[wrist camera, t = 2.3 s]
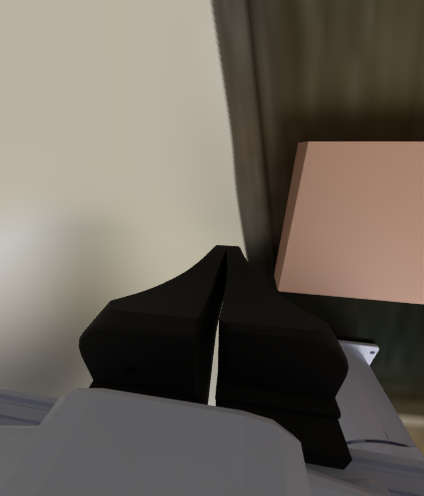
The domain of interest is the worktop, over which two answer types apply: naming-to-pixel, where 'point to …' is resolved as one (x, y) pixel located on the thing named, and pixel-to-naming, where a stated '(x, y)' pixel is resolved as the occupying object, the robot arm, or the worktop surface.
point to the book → (355, 222)
